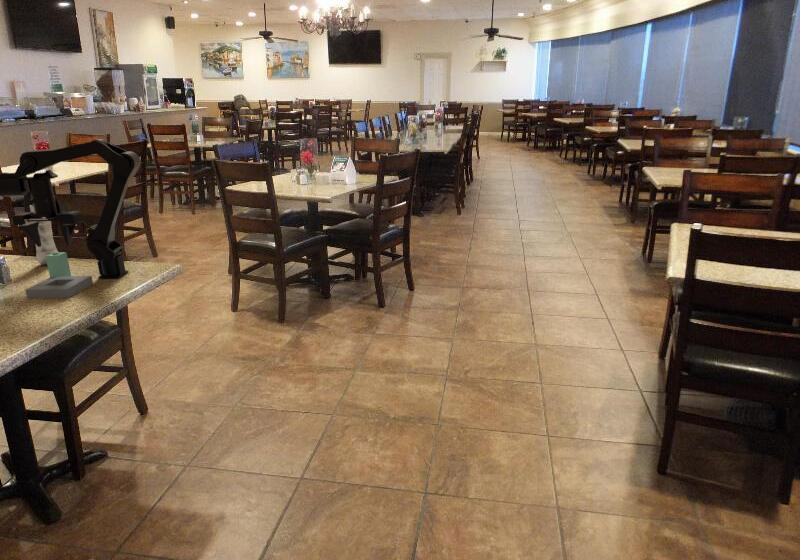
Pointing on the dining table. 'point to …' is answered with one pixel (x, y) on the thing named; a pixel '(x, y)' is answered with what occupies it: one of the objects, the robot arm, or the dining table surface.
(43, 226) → the plastic bottle
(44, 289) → the plate
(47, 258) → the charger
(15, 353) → the dining table surface
